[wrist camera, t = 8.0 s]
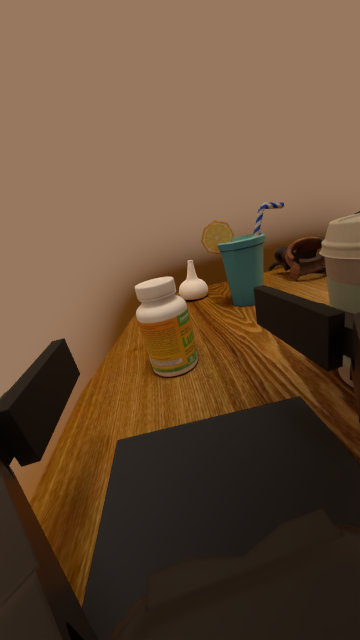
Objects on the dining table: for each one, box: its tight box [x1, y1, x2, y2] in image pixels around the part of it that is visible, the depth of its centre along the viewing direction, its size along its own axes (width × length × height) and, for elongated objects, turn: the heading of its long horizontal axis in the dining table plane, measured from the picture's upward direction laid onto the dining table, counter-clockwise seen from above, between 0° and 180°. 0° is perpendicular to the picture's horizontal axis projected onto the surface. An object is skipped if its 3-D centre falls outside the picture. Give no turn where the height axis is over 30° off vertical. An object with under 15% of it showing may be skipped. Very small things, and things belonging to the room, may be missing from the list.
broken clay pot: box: [274, 237, 326, 280], centre depth 46 cm, size 12×10×8 cm
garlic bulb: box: [179, 260, 208, 300], centre depth 48 cm, size 6×6×8 cm
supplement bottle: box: [135, 277, 198, 377], centre depth 24 cm, size 5×5×10 cm
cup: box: [201, 203, 284, 306], centre depth 37 cm, size 14×8×15 cm, turn 102°
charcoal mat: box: [82, 396, 360, 640], centre depth 10 cm, size 15×14×1 cm
